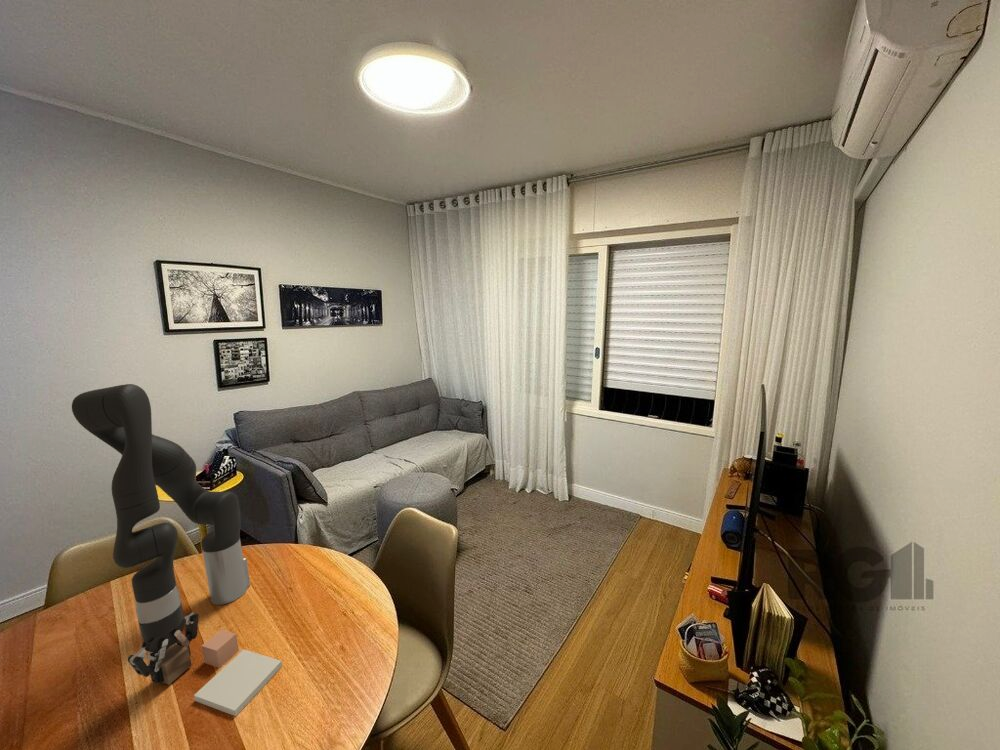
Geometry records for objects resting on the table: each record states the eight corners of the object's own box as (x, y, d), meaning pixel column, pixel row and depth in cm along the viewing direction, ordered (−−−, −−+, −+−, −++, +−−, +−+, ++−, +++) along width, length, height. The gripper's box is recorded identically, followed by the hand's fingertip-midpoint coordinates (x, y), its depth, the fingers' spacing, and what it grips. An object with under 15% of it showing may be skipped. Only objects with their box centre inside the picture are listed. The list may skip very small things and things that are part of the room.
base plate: (244, 654, 96) (243, 649, 96) (282, 666, 92) (281, 660, 92) (194, 700, 85) (193, 695, 84) (235, 716, 81) (234, 710, 81)
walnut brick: (176, 660, 94) (173, 643, 93) (191, 665, 93) (188, 647, 92) (153, 679, 89) (149, 661, 88) (169, 684, 88) (165, 666, 87)
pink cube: (224, 646, 98) (221, 629, 98) (238, 650, 97) (236, 633, 96) (204, 663, 94) (201, 645, 93) (219, 668, 92) (216, 650, 91)
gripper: (181, 584, 96) (192, 642, 99) (110, 630, 82) (125, 695, 85) (203, 589, 94) (214, 648, 97) (134, 638, 80) (149, 704, 83)
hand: (172, 670), depth 91 cm, fingers closed on walnut brick, 5 cm apart
